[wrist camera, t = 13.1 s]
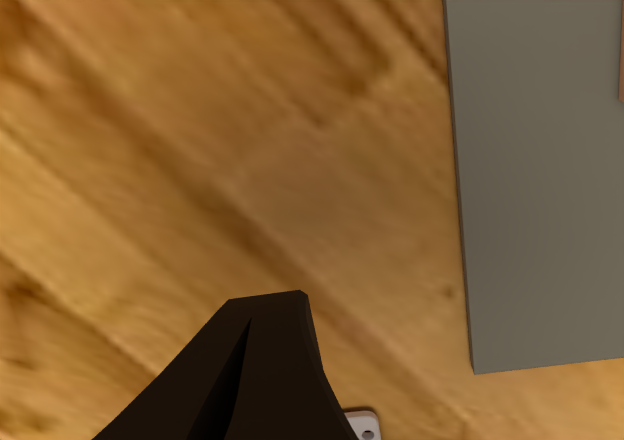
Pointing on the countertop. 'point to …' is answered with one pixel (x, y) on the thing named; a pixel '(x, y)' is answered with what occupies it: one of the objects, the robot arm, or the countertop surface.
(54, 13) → the countertop surface
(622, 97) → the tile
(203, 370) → the robot arm
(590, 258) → the mat
